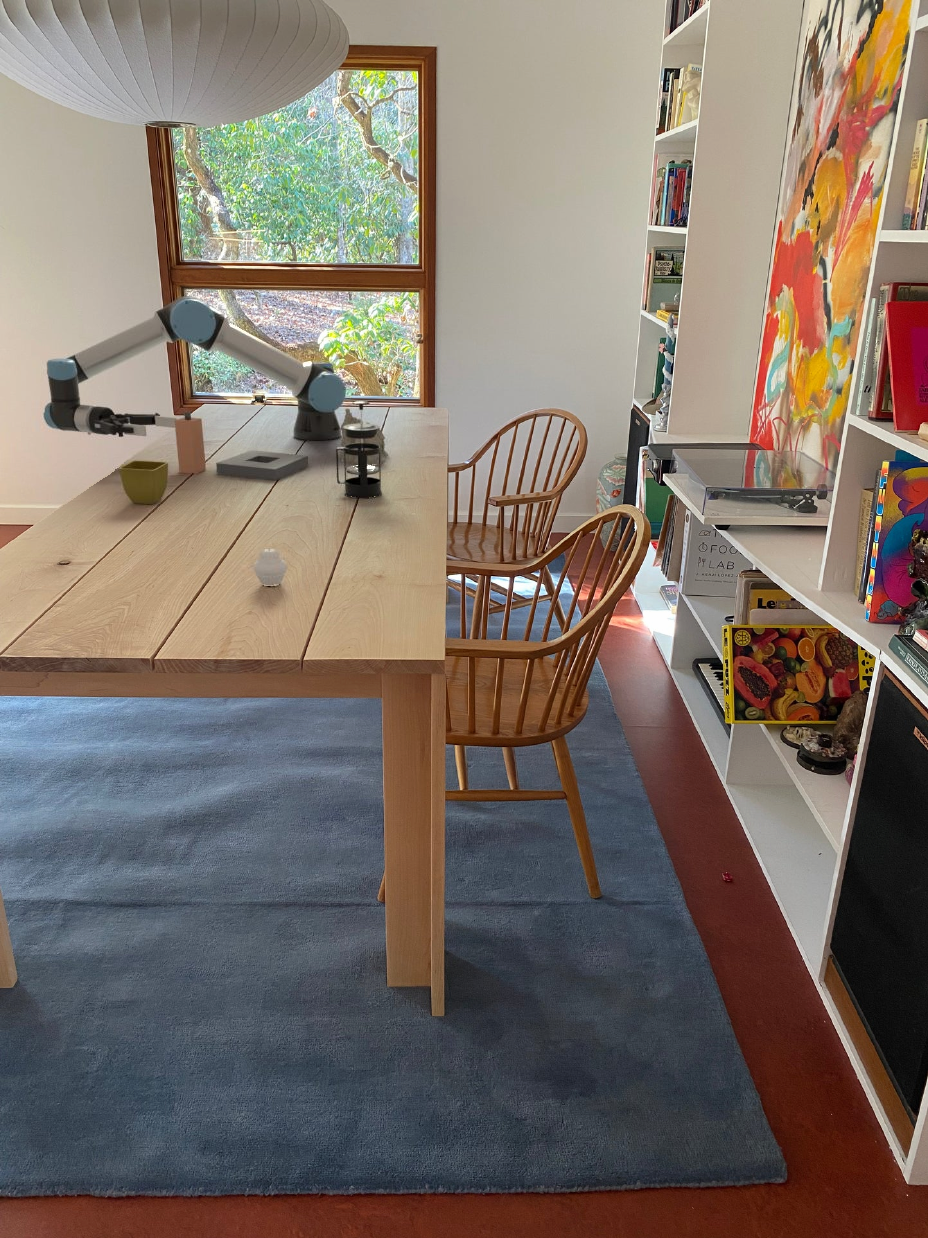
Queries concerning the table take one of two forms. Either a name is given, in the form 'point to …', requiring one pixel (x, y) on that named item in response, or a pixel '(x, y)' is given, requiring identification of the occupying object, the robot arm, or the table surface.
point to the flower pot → (144, 480)
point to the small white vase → (270, 567)
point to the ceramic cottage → (375, 440)
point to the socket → (262, 465)
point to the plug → (190, 444)
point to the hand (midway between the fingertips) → (161, 426)
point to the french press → (361, 460)
